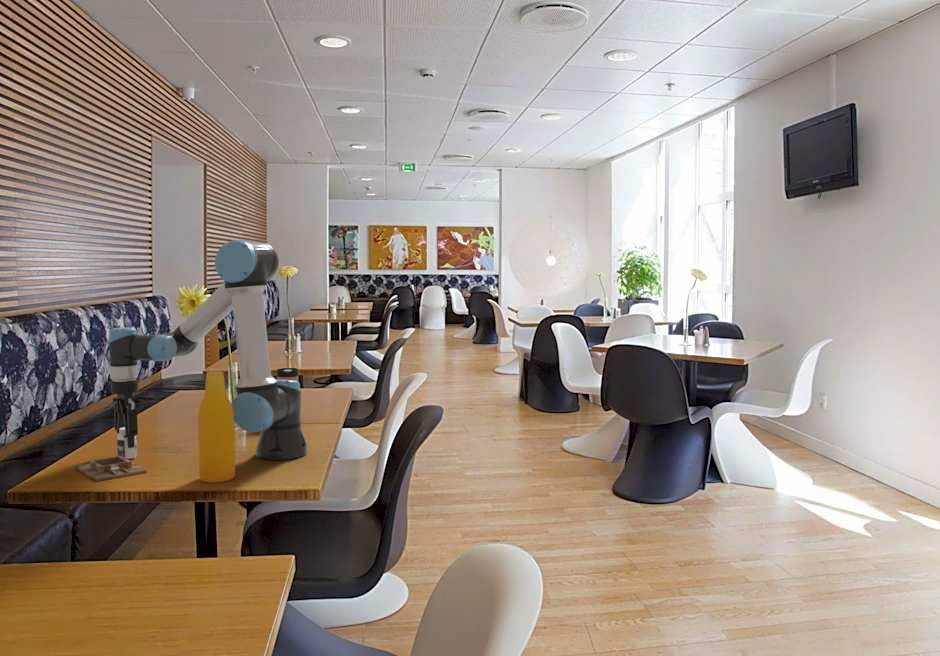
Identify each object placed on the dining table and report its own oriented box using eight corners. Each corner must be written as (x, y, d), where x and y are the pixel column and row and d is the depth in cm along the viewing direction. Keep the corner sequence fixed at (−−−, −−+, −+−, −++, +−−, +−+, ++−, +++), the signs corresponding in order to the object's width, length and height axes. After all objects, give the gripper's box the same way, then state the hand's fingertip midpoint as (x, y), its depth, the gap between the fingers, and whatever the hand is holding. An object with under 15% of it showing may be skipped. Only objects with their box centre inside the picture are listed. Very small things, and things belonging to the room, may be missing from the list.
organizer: (146, 472, 211) (145, 463, 210) (96, 481, 202) (96, 471, 202) (123, 460, 224) (123, 451, 224) (75, 468, 215) (75, 459, 215)
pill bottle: (115, 457, 227) (114, 428, 227) (132, 454, 231) (131, 425, 230) (121, 460, 224) (120, 430, 223) (139, 457, 227) (138, 428, 227)
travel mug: (288, 420, 283) (287, 367, 281) (303, 422, 279) (302, 368, 277) (273, 424, 276) (272, 369, 275) (288, 426, 272) (287, 371, 271)
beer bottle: (195, 483, 200) (192, 374, 198) (204, 474, 209) (201, 369, 207) (231, 482, 201) (228, 374, 198) (238, 473, 210) (236, 369, 208)
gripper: (148, 381, 221) (151, 459, 223) (126, 375, 235) (129, 449, 236) (121, 384, 216) (124, 464, 218) (100, 377, 229) (103, 452, 231)
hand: (126, 456), depth 227 cm, fingers closed on pill bottle, 5 cm apart
